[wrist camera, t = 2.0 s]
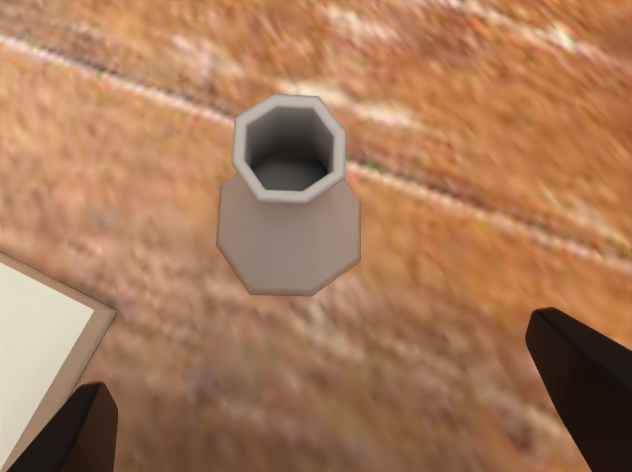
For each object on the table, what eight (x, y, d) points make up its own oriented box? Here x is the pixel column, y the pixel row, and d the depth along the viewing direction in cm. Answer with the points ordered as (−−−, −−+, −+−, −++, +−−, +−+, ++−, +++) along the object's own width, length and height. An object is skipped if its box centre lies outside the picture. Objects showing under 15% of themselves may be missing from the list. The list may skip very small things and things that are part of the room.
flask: (236, 318, 21) (189, 317, 11) (198, 175, 22) (125, 59, 12) (383, 274, 22) (459, 236, 12) (338, 138, 23) (374, 0, 13)
